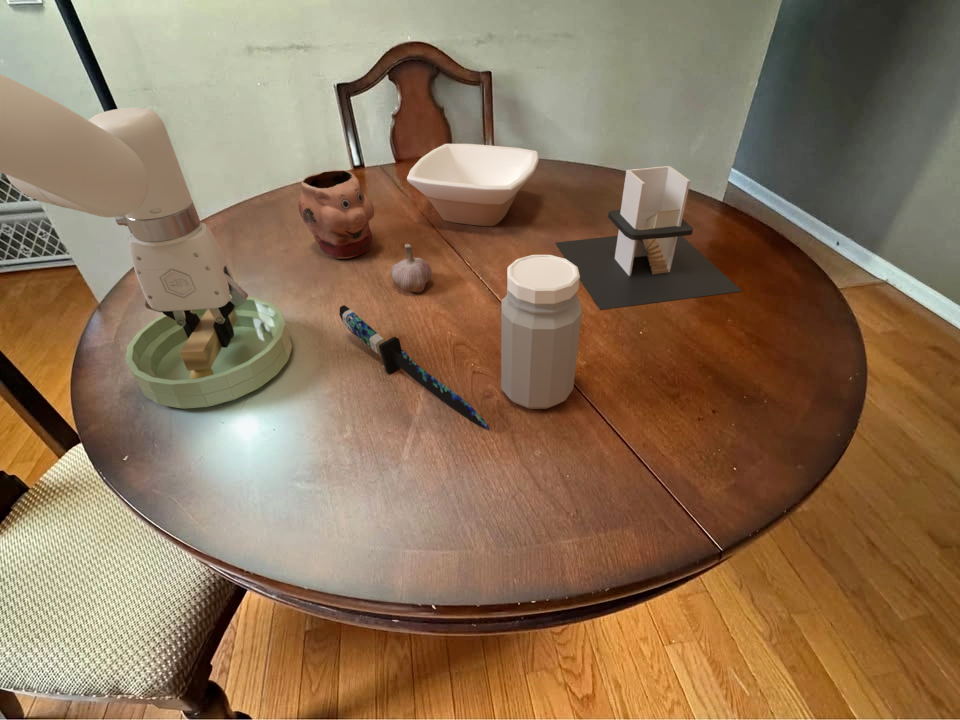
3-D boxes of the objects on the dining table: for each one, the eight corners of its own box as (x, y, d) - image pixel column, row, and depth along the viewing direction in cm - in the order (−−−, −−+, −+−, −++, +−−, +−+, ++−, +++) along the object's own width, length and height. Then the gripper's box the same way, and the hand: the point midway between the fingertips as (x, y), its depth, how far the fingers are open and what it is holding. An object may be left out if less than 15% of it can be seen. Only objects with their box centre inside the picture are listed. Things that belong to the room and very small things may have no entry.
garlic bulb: (425, 298, 93) (421, 255, 88) (384, 294, 94) (377, 252, 89) (437, 276, 99) (434, 234, 94) (398, 272, 100) (393, 231, 95)
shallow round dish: (137, 431, 70) (120, 401, 67) (144, 342, 85) (130, 315, 82) (303, 386, 76) (294, 357, 73) (282, 310, 91) (274, 284, 88)
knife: (339, 329, 84) (335, 305, 81) (356, 321, 86) (353, 297, 83) (472, 454, 68) (474, 431, 65) (490, 441, 70) (492, 418, 67)
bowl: (517, 244, 108) (518, 191, 101) (401, 229, 114) (395, 178, 107) (544, 197, 125) (547, 149, 119) (442, 187, 131) (439, 141, 125)
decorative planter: (285, 242, 110) (267, 172, 102) (336, 222, 117) (323, 155, 109) (347, 274, 100) (332, 200, 91) (398, 250, 107) (389, 179, 98)
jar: (588, 389, 74) (604, 270, 63) (539, 425, 69) (547, 303, 58) (533, 356, 80) (539, 242, 69) (484, 388, 75) (482, 270, 64)
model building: (600, 309, 89) (613, 213, 79) (554, 242, 108) (560, 157, 98) (742, 291, 93) (772, 196, 82) (674, 229, 111) (692, 145, 101)
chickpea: (185, 371, 73) (193, 390, 74) (207, 365, 73) (215, 383, 74) (188, 365, 75) (197, 383, 76) (210, 358, 76) (218, 377, 77)
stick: (210, 369, 73) (203, 350, 71) (187, 371, 73) (179, 352, 71) (238, 318, 84) (232, 301, 82) (217, 319, 84) (211, 302, 82)
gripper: (79, 239, 63) (144, 363, 75) (225, 231, 64) (267, 355, 76) (108, 212, 69) (164, 331, 81) (241, 204, 70) (278, 323, 82)
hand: (214, 341), depth 78 cm, fingers closed on stick, 3 cm apart
